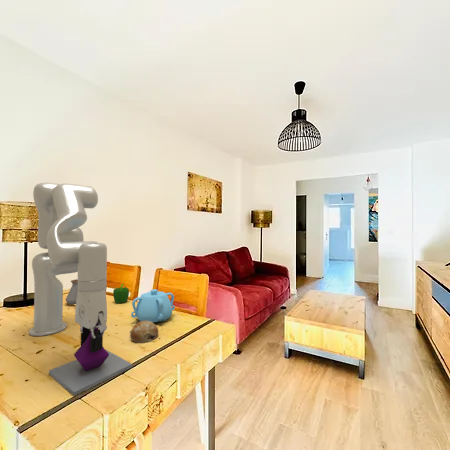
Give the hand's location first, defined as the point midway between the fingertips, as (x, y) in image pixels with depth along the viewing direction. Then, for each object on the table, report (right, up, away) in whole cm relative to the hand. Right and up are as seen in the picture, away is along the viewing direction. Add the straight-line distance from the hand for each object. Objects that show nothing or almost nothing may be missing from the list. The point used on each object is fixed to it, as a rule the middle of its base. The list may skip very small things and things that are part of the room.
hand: (91, 347), depth 72 cm
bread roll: (+8, -8, +22) cm, 25 cm away
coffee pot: (-40, -8, +61) cm, 74 cm away
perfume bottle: (0, -6, 0) cm, 6 cm away
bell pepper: (-19, -8, +68) cm, 71 cm away
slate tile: (0, -7, 0) cm, 7 cm away
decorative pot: (+7, -8, +41) cm, 42 cm away
